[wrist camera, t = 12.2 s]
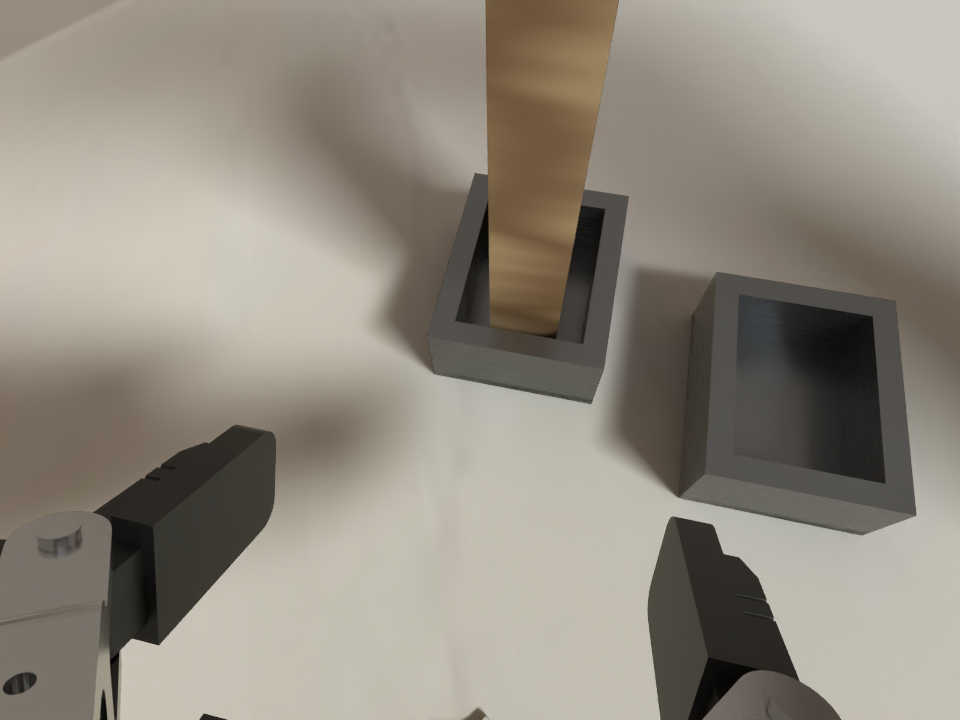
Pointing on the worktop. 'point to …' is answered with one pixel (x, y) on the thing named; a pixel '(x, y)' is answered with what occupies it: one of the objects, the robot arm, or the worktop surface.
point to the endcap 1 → (517, 356)
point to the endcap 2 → (797, 406)
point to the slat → (539, 148)
